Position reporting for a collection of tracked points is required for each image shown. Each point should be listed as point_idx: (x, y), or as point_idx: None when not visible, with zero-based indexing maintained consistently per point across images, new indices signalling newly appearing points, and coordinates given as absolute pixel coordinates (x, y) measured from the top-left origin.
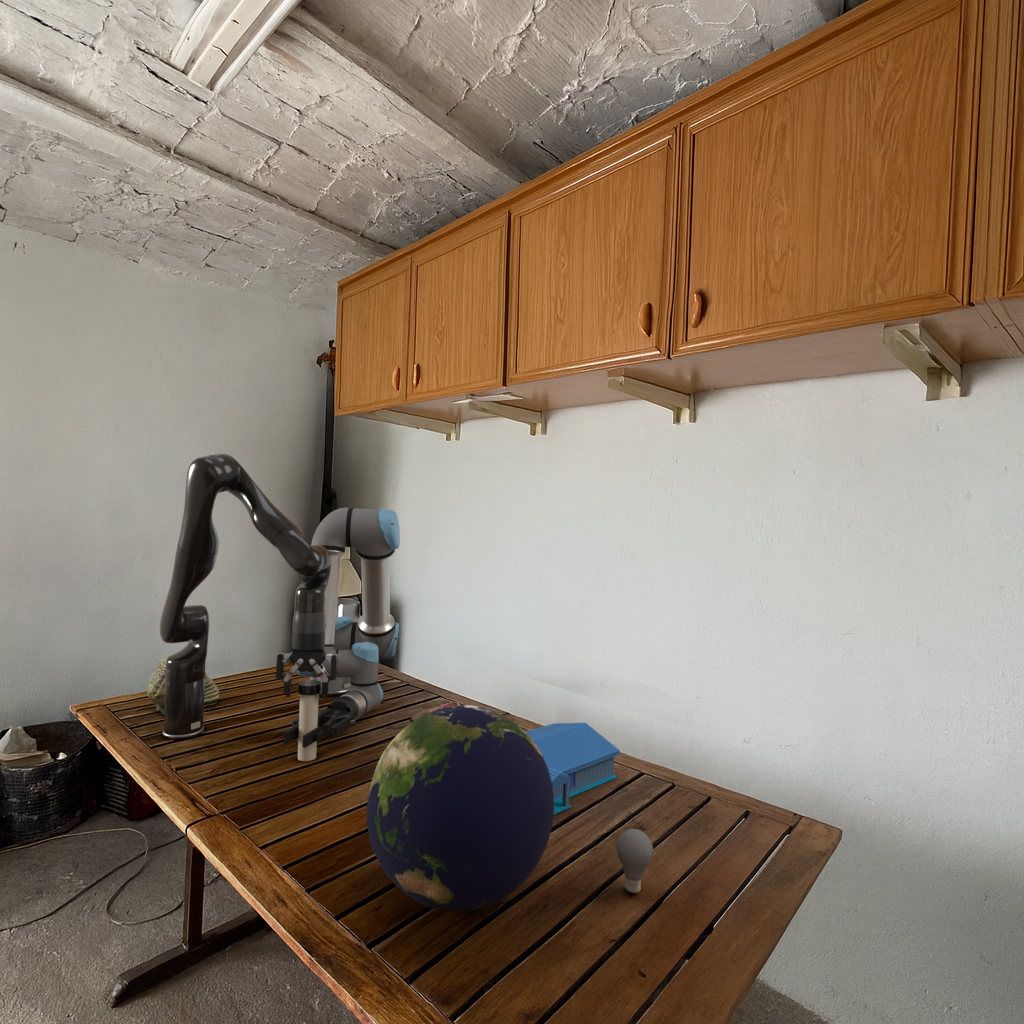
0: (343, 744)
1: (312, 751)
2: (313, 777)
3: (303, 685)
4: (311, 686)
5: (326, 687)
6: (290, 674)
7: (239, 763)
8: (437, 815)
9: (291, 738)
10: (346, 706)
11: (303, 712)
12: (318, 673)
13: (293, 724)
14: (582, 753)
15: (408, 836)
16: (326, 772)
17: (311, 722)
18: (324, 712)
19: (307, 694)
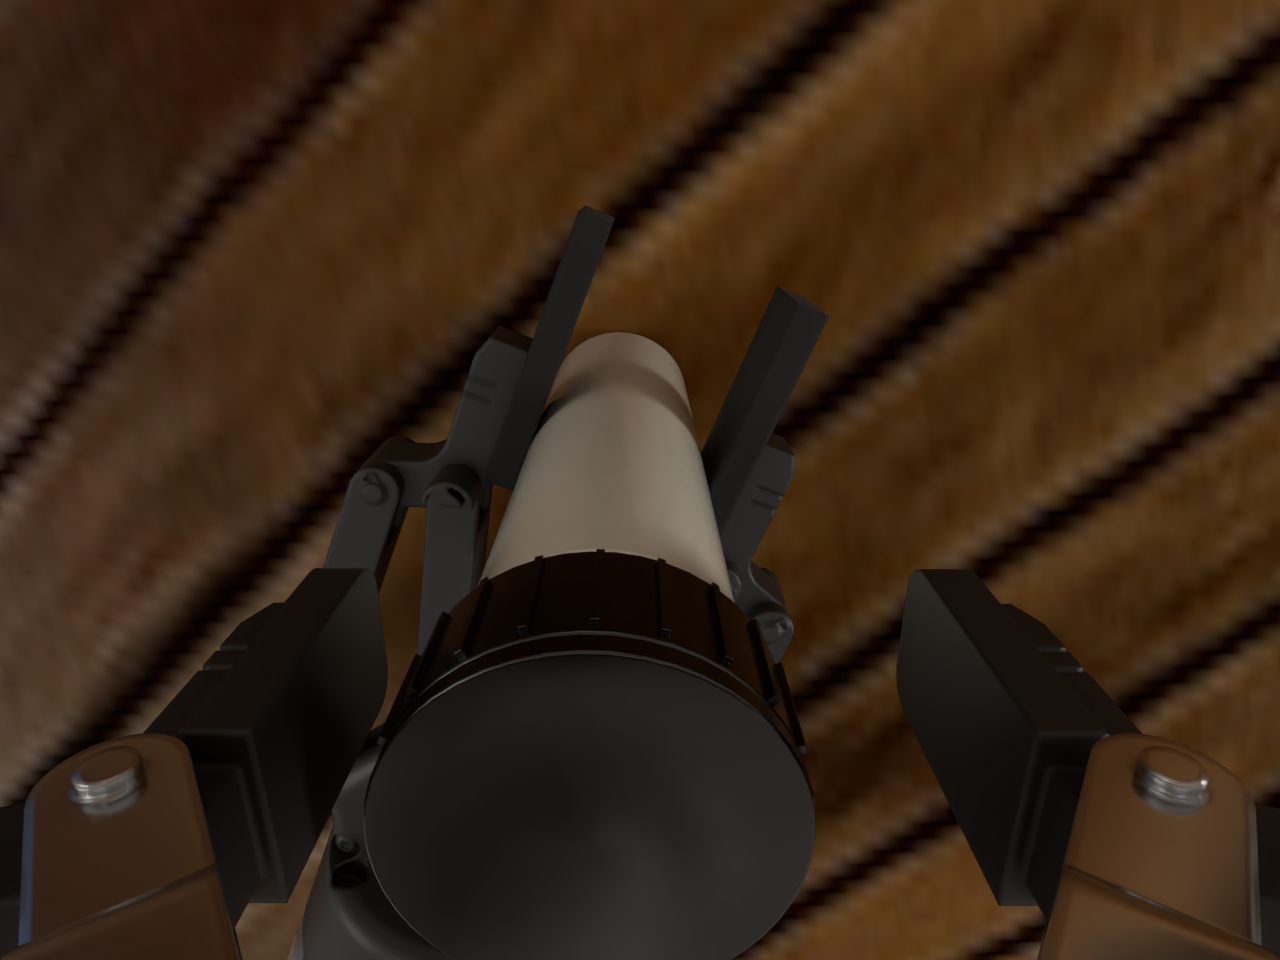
0: (417, 617)
1: (565, 365)
2: (486, 16)
3: (691, 690)
4: (504, 657)
5: (209, 689)
6: (1146, 897)
7: (1088, 302)
8: None
9: (747, 367)
10: (358, 895)
11: (654, 470)
12: (175, 909)
13: (774, 597)
14: None
15: None
16: (408, 118)
17: (559, 434)
18: None
19: (593, 560)
